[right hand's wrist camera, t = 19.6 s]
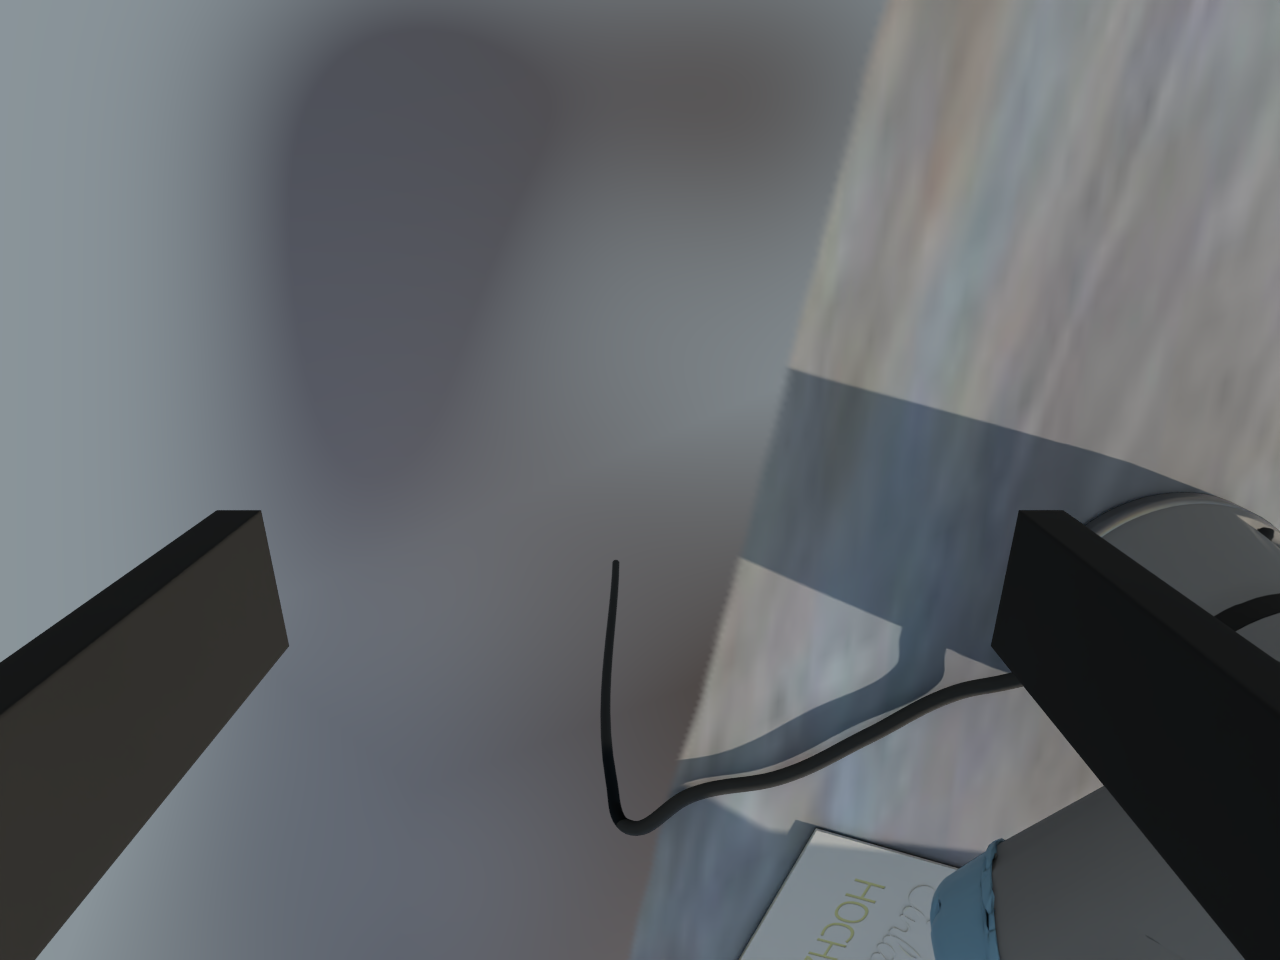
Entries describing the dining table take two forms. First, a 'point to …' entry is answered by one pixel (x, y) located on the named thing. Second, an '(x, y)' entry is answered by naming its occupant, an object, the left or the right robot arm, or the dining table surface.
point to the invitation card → (850, 905)
